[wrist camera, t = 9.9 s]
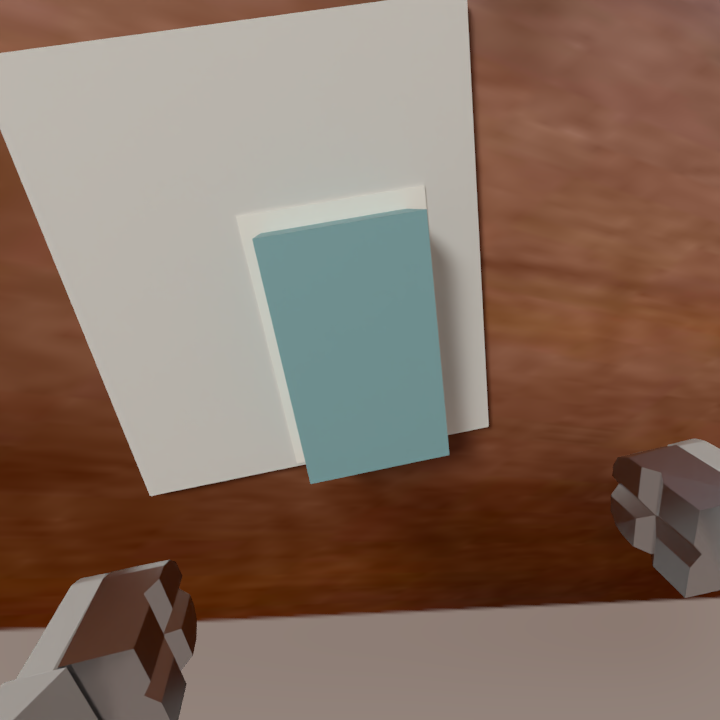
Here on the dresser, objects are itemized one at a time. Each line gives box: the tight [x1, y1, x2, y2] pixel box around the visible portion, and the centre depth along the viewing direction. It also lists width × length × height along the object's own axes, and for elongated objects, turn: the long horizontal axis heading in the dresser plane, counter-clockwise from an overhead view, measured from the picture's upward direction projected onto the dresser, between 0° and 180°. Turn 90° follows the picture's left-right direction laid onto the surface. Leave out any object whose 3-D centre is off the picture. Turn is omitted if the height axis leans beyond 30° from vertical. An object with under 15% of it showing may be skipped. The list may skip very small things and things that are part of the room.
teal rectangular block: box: [252, 209, 449, 484], centre depth 18 cm, size 10×6×3 cm, turn 9°
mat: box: [0, 0, 489, 496], centre depth 18 cm, size 17×18×1 cm
